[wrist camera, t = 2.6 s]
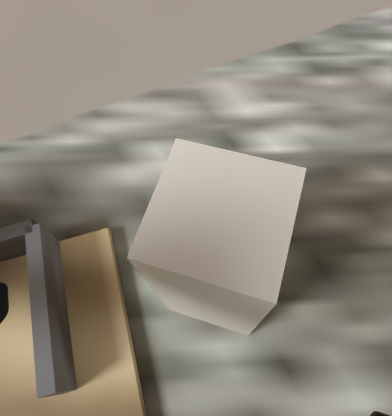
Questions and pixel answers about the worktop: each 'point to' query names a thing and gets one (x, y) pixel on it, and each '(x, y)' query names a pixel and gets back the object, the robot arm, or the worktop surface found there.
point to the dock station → (64, 327)
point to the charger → (218, 234)
